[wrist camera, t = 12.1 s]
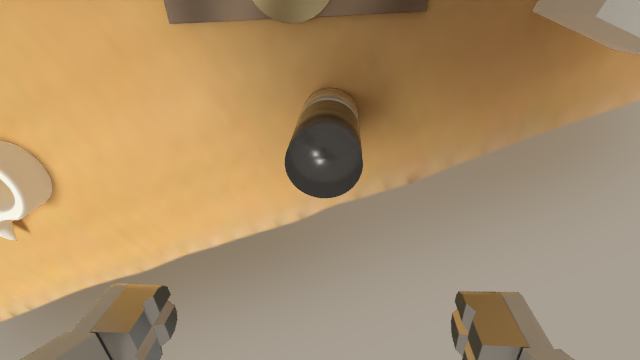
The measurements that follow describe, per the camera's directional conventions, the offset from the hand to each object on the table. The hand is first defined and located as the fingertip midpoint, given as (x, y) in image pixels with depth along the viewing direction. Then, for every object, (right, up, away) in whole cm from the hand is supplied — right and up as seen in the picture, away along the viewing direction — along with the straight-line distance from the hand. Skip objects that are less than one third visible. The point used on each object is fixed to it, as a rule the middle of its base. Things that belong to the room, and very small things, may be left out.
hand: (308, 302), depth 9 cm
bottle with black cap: (+1, +8, +15) cm, 17 cm away
